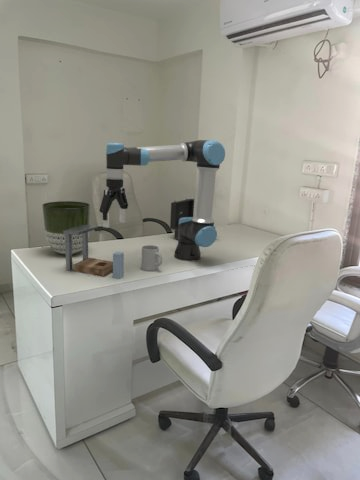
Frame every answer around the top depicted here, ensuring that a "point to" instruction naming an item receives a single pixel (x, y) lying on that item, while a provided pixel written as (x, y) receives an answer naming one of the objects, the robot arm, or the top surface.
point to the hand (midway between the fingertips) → (114, 224)
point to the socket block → (94, 267)
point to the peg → (118, 265)
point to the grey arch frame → (84, 231)
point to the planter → (64, 223)
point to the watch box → (180, 212)
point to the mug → (150, 258)
